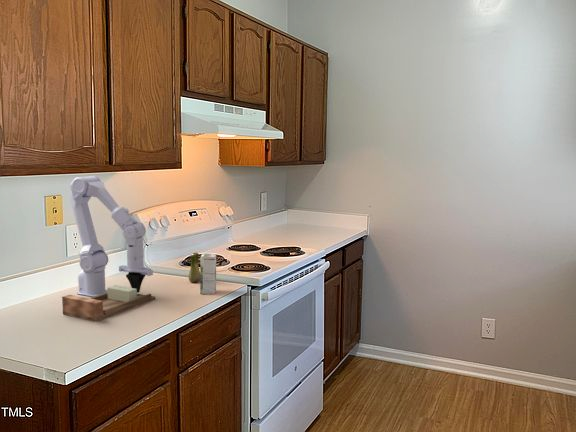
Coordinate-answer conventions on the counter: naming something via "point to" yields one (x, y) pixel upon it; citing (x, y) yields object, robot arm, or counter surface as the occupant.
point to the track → (116, 305)
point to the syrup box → (208, 274)
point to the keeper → (121, 293)
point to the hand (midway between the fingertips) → (136, 292)
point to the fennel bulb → (194, 269)
